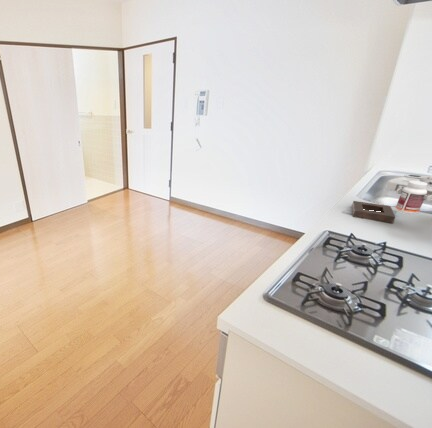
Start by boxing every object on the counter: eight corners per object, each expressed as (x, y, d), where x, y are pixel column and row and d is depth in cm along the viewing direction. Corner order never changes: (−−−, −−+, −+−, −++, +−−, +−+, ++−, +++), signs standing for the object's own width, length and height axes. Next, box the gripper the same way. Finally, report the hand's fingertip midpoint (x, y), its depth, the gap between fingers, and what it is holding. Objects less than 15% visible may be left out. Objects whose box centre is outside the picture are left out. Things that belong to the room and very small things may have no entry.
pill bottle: (421, 211, 102) (434, 183, 98) (413, 215, 100) (426, 186, 95) (399, 206, 107) (411, 178, 103) (391, 209, 105) (402, 181, 100)
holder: (388, 212, 126) (390, 206, 124) (392, 223, 116) (395, 216, 115) (351, 206, 133) (353, 200, 131) (352, 216, 123) (354, 210, 122)
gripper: (468, 204, 98) (448, 213, 93) (395, 188, 115) (375, 194, 110) (477, 188, 95) (457, 195, 91) (401, 173, 112) (381, 179, 108)
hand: (411, 194), depth 101 cm, fingers closed on pill bottle, 6 cm apart
